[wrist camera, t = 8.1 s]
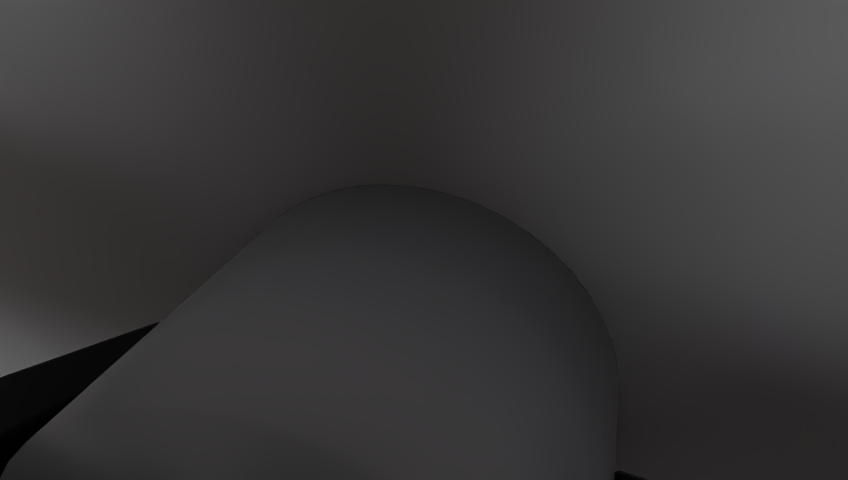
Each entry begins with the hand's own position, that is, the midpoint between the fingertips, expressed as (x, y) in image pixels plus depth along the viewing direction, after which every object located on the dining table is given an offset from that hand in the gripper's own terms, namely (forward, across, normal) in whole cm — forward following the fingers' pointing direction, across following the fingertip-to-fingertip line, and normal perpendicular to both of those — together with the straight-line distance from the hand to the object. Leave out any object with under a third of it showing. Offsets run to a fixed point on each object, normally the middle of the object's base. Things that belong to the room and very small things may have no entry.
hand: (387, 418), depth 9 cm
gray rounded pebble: (+1, 0, 0) cm, 1 cm away
